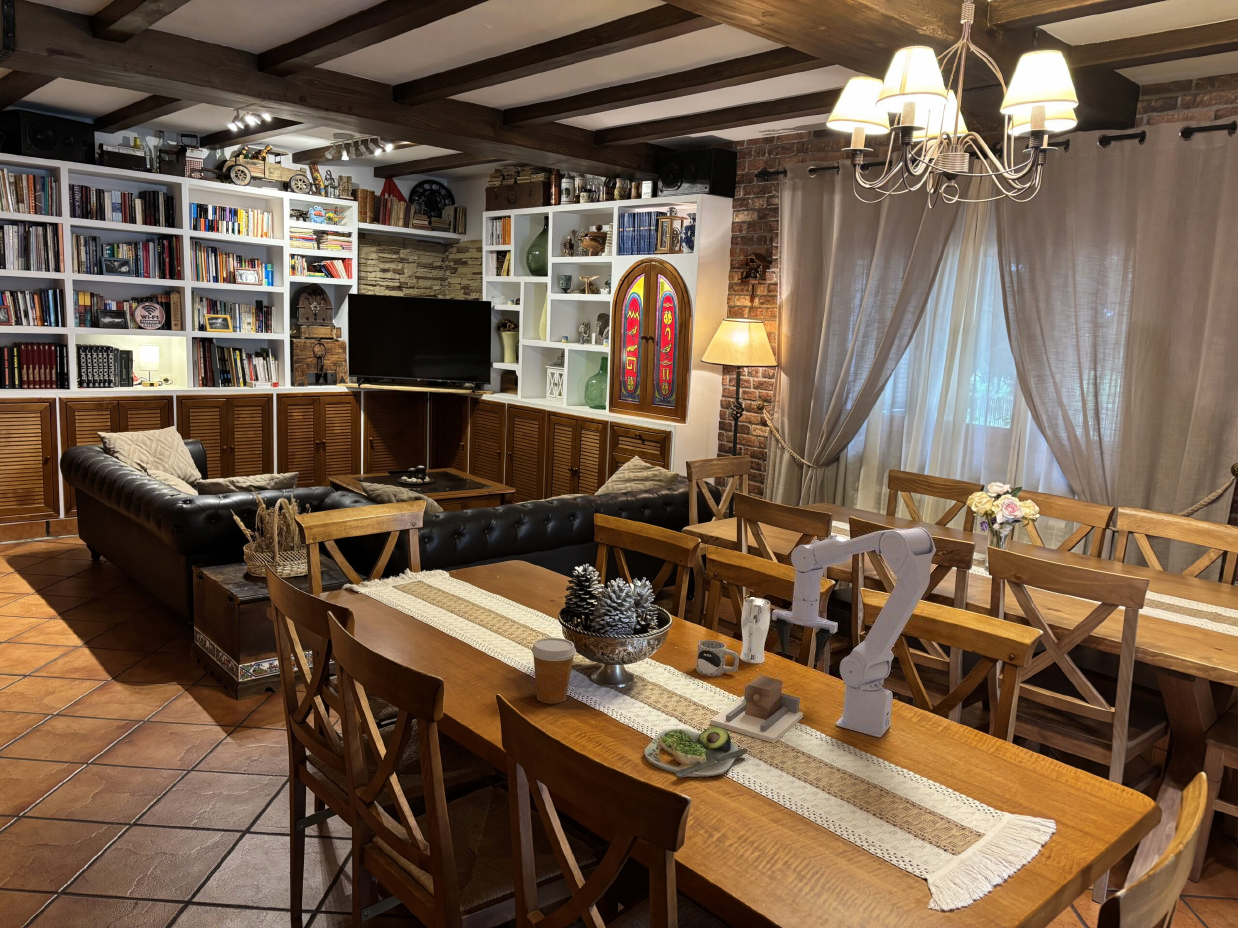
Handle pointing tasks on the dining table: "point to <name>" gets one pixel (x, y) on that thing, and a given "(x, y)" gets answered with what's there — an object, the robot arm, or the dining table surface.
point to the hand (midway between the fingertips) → (801, 656)
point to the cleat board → (758, 727)
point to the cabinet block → (763, 697)
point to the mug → (714, 658)
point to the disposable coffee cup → (552, 668)
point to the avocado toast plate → (695, 751)
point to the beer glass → (754, 629)
